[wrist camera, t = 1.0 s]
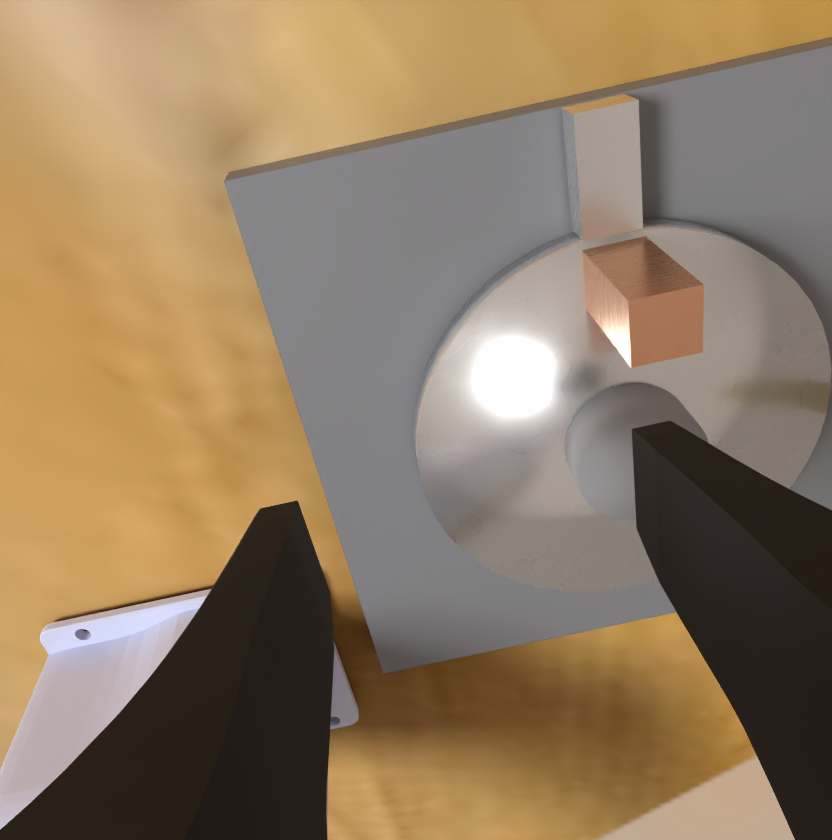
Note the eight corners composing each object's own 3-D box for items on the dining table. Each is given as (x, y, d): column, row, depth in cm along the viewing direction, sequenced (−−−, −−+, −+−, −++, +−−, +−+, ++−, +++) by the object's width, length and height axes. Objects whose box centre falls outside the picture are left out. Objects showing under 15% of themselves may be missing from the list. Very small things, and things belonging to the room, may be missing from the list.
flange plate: (450, 602, 25) (470, 710, 22) (345, 155, 18) (348, 203, 14) (796, 529, 25) (877, 625, 21) (842, 44, 18) (982, 63, 14)
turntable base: (381, 652, 28) (387, 741, 25) (228, 172, 19) (207, 212, 16) (853, 553, 28) (921, 629, 25) (934, 14, 18) (1062, 22, 15)
